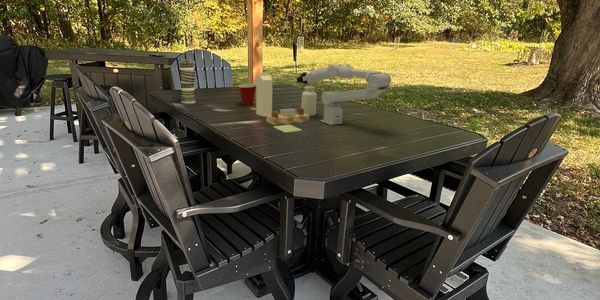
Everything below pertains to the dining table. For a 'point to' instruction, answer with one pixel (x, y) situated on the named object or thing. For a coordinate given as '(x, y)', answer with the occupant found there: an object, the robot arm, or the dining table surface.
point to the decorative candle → (187, 81)
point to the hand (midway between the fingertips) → (302, 79)
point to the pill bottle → (309, 100)
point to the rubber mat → (287, 128)
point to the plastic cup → (247, 93)
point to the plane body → (287, 118)
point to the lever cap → (287, 112)
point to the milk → (264, 95)
